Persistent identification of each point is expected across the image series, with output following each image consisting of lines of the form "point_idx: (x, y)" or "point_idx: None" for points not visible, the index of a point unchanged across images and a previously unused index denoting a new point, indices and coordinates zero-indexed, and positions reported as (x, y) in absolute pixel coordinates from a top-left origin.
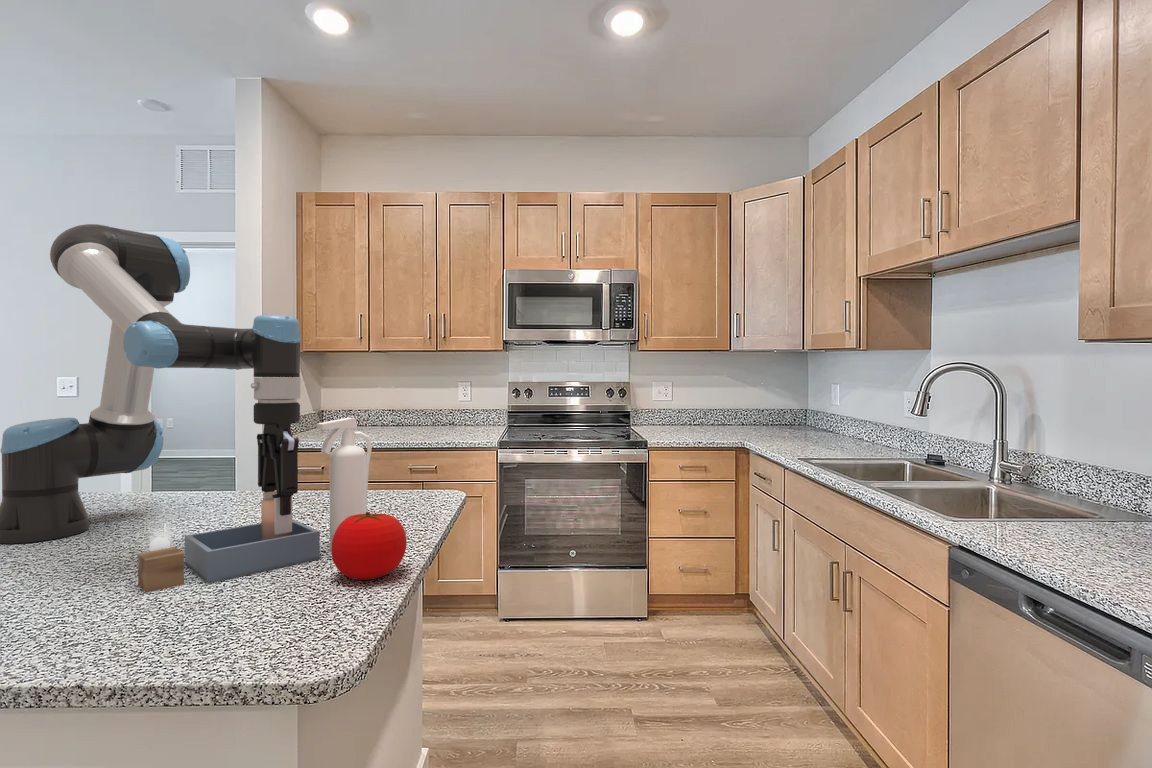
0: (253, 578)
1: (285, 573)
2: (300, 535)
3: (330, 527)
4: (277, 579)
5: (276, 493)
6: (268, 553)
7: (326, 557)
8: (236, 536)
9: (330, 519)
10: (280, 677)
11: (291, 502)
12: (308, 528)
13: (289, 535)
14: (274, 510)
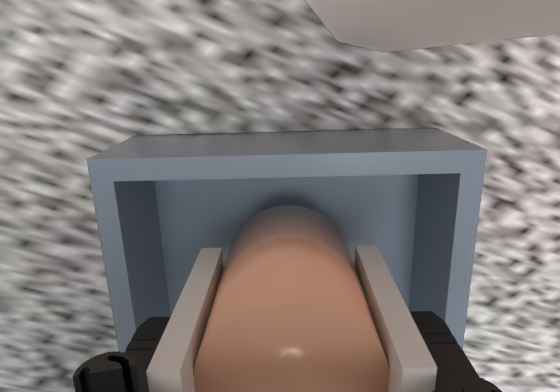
0: None
1: (494, 269)
2: (474, 240)
3: (377, 40)
4: (531, 304)
5: (185, 382)
6: None
7: (432, 97)
8: None
9: (387, 37)
10: None
11: (419, 335)
12: (383, 168)
13: (341, 235)
14: None
